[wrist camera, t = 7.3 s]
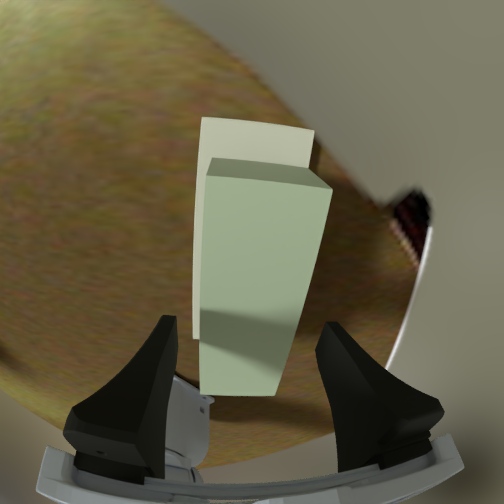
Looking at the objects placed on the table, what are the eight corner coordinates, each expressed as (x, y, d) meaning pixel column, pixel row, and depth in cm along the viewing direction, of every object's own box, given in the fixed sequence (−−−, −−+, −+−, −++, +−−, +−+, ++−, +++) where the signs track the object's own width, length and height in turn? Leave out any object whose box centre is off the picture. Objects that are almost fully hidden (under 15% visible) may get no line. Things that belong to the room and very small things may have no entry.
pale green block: (267, 353, 21) (274, 395, 18) (202, 351, 20) (200, 394, 17) (307, 168, 14) (333, 189, 11) (211, 157, 14) (205, 175, 10)
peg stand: (269, 335, 26) (275, 369, 22) (193, 332, 25) (190, 366, 21) (311, 129, 17) (331, 136, 14) (203, 116, 16) (195, 119, 13)
